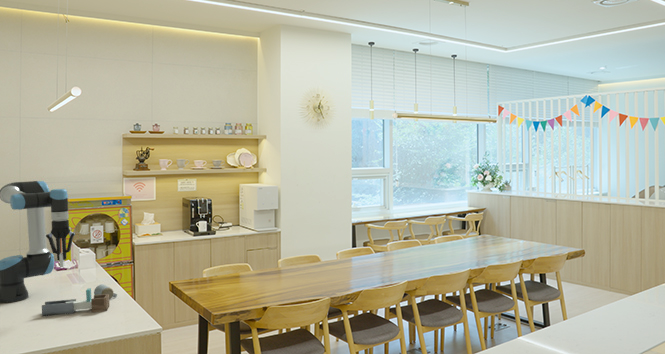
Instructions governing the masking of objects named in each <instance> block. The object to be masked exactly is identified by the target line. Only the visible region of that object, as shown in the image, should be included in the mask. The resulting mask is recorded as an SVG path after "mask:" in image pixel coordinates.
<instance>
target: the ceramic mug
mask: <svg viewBox="0 0 665 354" xmlns="http://www.w3.org/2000/svg"><path fill="white" fill-rule="evenodd" d="M102 294H109V300H111V299H112V298H117V297H118V294H117V293H114V290H113V288H112V287H110V286H108V285H105V284H99V285H97V286H96V287H95V288H94V291H93V296H94V295H102Z"/></svg>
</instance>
